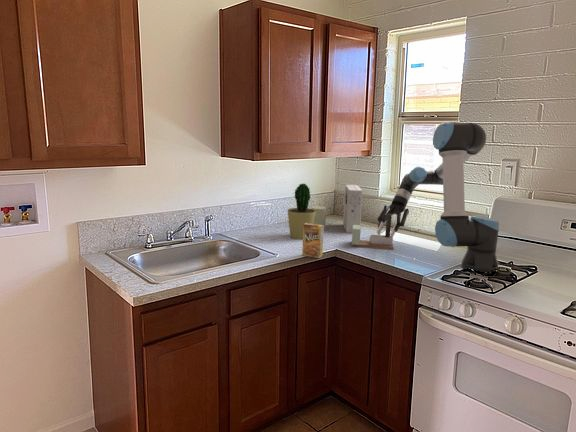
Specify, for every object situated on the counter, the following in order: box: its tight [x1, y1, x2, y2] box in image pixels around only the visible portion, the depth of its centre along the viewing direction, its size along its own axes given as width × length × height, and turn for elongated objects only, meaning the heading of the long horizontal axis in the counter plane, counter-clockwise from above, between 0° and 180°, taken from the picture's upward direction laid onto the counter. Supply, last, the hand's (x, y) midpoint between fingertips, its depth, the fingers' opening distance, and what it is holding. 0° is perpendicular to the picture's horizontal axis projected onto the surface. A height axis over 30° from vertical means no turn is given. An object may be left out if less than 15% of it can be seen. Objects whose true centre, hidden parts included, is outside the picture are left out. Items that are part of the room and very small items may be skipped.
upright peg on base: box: [368, 214, 393, 242], centre depth 233 cm, size 3×11×15 cm, turn 81°
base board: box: [351, 239, 394, 250], centre depth 236 cm, size 10×21×1 cm, turn 81°
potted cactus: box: [286, 182, 316, 240], centre depth 246 cm, size 15×15×30 cm
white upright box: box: [342, 184, 363, 234], centre depth 269 cm, size 22×8×25 cm, turn 179°
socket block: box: [351, 224, 362, 245], centre depth 236 cm, size 10×4×8 cm, turn 171°
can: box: [310, 205, 327, 228], centre depth 275 cm, size 9×9×12 cm
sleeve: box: [370, 234, 394, 245], centre depth 234 cm, size 4×11×4 cm, turn 81°
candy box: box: [301, 223, 325, 259], centre depth 212 cm, size 9×4×15 cm, turn 66°
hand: (384, 234), depth 230 cm, fingers open, 7 cm apart
